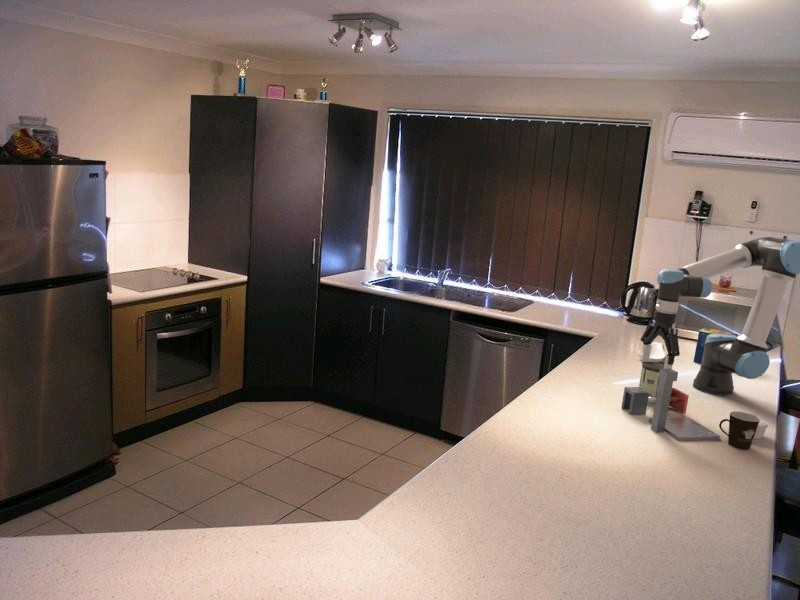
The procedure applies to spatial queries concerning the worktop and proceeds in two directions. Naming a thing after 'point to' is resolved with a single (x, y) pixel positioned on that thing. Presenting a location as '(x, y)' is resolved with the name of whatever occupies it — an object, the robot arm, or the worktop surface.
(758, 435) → the ramekin
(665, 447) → the worktop surface
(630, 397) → the press
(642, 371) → the coffee can
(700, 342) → the protein box
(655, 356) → the spoon rest
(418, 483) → the worktop surface
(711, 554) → the worktop surface
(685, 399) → the lever
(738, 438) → the coffee mug
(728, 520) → the worktop surface
